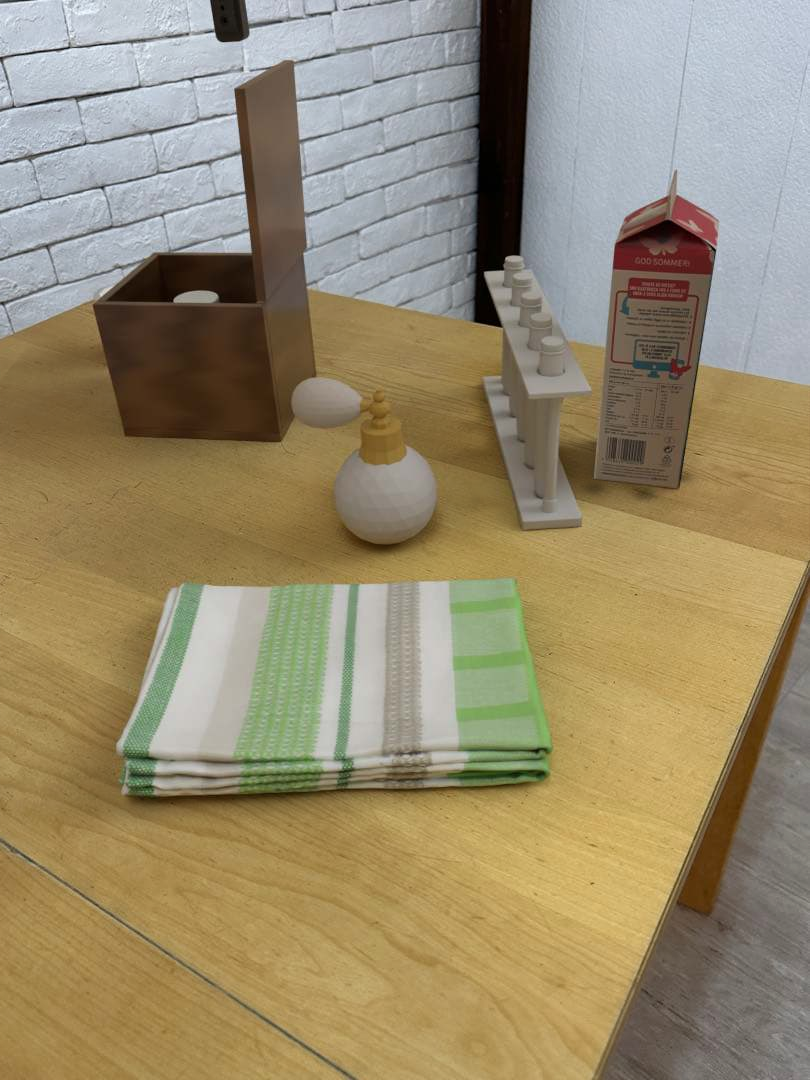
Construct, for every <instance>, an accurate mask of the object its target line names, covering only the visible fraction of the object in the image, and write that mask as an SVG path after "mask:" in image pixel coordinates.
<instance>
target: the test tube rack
mask: <svg viewBox="0 0 810 1080" xmlns="http://www.w3.org/2000/svg"><path fill="white" fill-rule="evenodd" d="M525 267H526V265H525V263H524V258H523V256H522V255H521V256H520V255H508V256H506V257H505V259H504V263H503V268H504V269H503V270H490V271H489V270H488V271H484V272H483V277H484V280H485V283H486V285H487V288H488V291H489V293H490V296H491V299H492V302H493V305H494V308H495V310H496V313H497V316H498V319H499V321H500V324H501V327H502V348H501V349H502V350H501V352H502V353H501V355H502V356H501V358H502V359H501V375H490V376H489V375H488V376H482V377H481V384H482V388H483V392H484V395H485V399H486V403H487V406H488V411H489V413H490V417H491V421H492V424H493V427H494V428H493V429H494V431H495V436H496V439H497V442H498V443H497V444H498V446H499V450H500V454H501V458H502V460H503V461H502V462H503V464H504V468H505V472H506V475H507V479H508V483H509V486H510V490H511V493H512V496H513V497H512V498H513V500H514V501H513V502H514V504H515V508H516V511H517V516H518V519H519V523H520V526H521V529H522V531H529V530H531V531H532V530H545V529H562V528H577V527H582V525H583V516H582V513H581V511H580V508H579V505H578V503H577V500H576V498H575V495H574V492H573V490H572V487H571V485H570V482H569V478H568V477H567V474H566V471H565V469H564V466H563V464H562V460H561V457H560V455H559V445H560V433H561V416H562V415H561V413H562V405H563V403H564V398H574V397H575V398H576V397H591V396H592V394H593V393H592V392H593V390H592V388H591V386H590V384H589V382H588V380H587V378H586V376H585V373H584V372H583V370H582V368H581V366H580V364H579V362H578V359H577V358H576V355H575V353H574V352H573V349H572V348H571V346H570V344H569V341H568V340H567V338H566V336H565V334H564V332H563V330H562V327H561V326H560V324H559V321H558V320H557V317H556V316H555V313H554V312H553V310H552V307H551V305H550V303H549V301H548V299H547V298H546V296H545V293H544V292H543V289H542V287H541V285H540V283H539V281H538V280H537V277H536V275H535V274H534V271H533V269H532V268H526V269H525Z"/></svg>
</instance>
